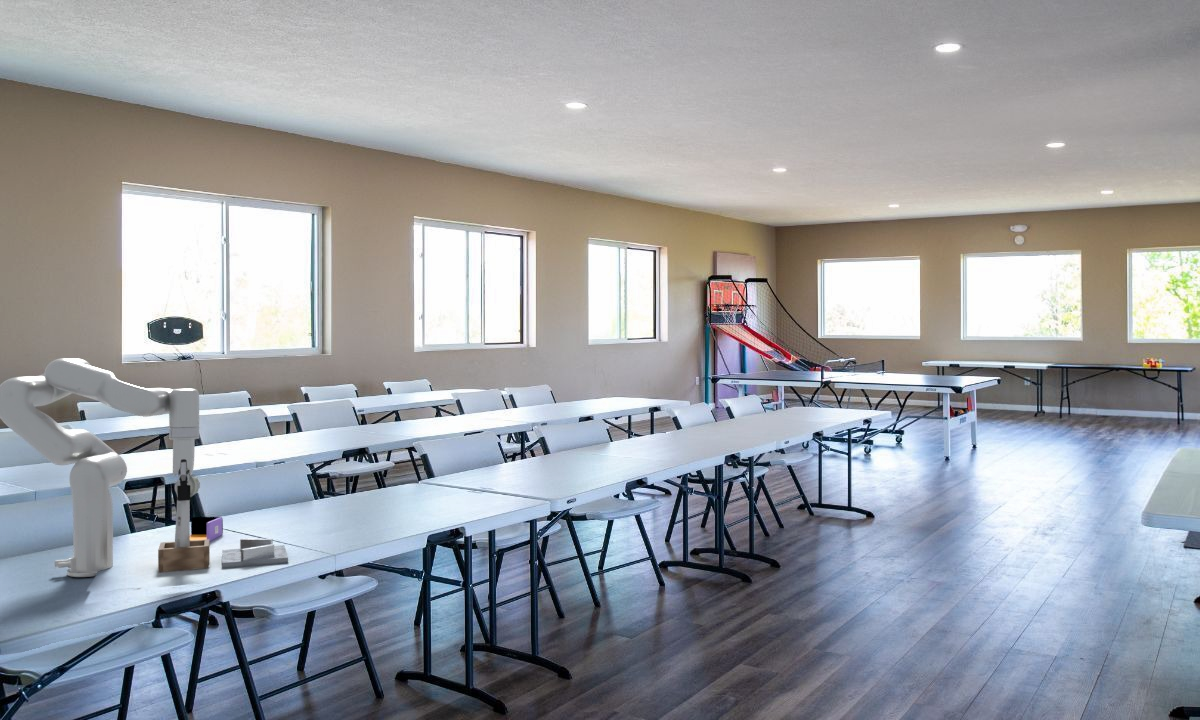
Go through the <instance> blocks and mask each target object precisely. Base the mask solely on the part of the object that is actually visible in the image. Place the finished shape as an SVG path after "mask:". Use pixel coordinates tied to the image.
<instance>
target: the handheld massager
mask: <svg viewBox="0 0 1200 720" xmlns="http://www.w3.org/2000/svg"><path fill="white" fill-rule="evenodd" d="M189 485H190V498H192V497H193V496H194V495H197V494H198V492H199V489H200V488H201V483H200V482H199V479H198V476H196V475H195V474H191V475H190V477H189ZM177 486H178V480H177V481H176V483H175V484H174V491H175V494H177ZM174 532H175V535H174V542H175V548H178V547H190V535H191V533H190V532H191V520H190V500H185V501H178V500H176V515H175V531H174Z"/></svg>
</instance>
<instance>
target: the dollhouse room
mask: <svg viewBox="0 0 1200 720" xmlns="http://www.w3.org/2000/svg"><path fill="white" fill-rule="evenodd" d="M223 519H224V518H223V517H222V516H195V517H194V516H193V517H191V520H190V532H191V533H190V540H204V539H210V542H212V541H213V540H216V539H217V538H219V537H220V535H221V536H222V535H223V534H224V533H223V532H224V531H223V530H224V529H223V528H224V524H223V523H224V520H223Z"/></svg>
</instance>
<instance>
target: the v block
mask: <svg viewBox="0 0 1200 720" xmlns="http://www.w3.org/2000/svg"><path fill="white" fill-rule="evenodd" d="M239 541H240V542H239V548H234V549H233V548H232V549H222V551H221V552H222V553H221V569H230V568H243V567H253V566H254V567H257V566H267V565H268V566H269V565H280V564H289V557H288V553H287V551H286V547H285V545H275V544H273V543H274V542H273V541H274V538H241V539H240V540H239Z"/></svg>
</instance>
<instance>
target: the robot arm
mask: <svg viewBox="0 0 1200 720" xmlns="http://www.w3.org/2000/svg"><path fill="white" fill-rule="evenodd" d="M72 394H73V395H76V396H82V397H85V398H87V399H91V400H95V401H97V402H100V403H101V404H102V405H105V406H108V407H110V408H113V409H115V410H118V411H121V412H124V413H128V414H131V415H134V416H138V417H144V418H146V417H155V416H162V415H168V420H169V421H168V423H169V424H168V425H169V428H168V433H169V434H168V436H169V438H168V439H169V440H171V441H173V444H172V476H173V477H176V475H177V476H178V477H177V478H178V479H177V481H178V486H177V493H176V494H177V495H176V496H177V497H176V499H177V500H178V501H185V500H189V501H190V500H191V497H190V485H189V477H190V475H193V471H194V466H195V447H196V446H195V441H196V440H199V439H200V393H199V390H198V389H196V388H173V389H172V388H165V387H151V388H145V387H140V386H137V385H134V384H130V383H128V382H124V381H122V380H120V379H118V378H117V377H116V375H115V373H114V372H112V371H110V370H106V369H102V368H99V367H96V366H92V365H91V363H89V361H87V360H85V359H82V358H76V357H75V358H74V357H73V358H70V357H69V358H66V357H62V358H61V357H60V358H57V359H54V360H52V361H50V362H49V363H48V364H47V365H46V367H45V369H44V373H41V374H40V375H36V376H35V375H27V376H26V375H25V376H16V377H15V376H14V377H11V378H8V379H6V380H4V381H3V382H2V383H0V421H2V422H3V423H4V425H6V426H7V427H8V428H9V429H11V430H12V431H13V432H14V433H15V434H16V435H18V436H19V437H21V438H22V439H23V440H24V441H25V442H27V444H29V445H30V446H31V447H32V448H33V449H34V450H35V451H37V452H38V453H39V454H41V456H43V457H44V458H45V459H46V460H47V461H49V462H51V463H52V464H54V465H55V466H69V465H73V464H74V465H73V466H72V468H71V469H70V472H69V476H68V477H69V486H70V492H71V499H72V519H73V520H72V527H73V529H72V535H73V536H72V538H73V539H72V545H73V547H72V549H73V551H72V552H73V553H72V557H68V558H67V559H55V560H54V568H60V569H61V568H68V569H66V575H67V576H68V577H73V578H88V577H89V578H90V577H96V576H97V574H98V572H99V571H104V570H107V569H110V568H113V567H114V524H113V523H114V506H113V505H114V504H113V503H114V502H113V497H112V494H111V489H110V488H112V487H114V486H117V485H119V484H120V483H122V482H124V480H125V479H126V477H127V473H128V466H127V463H126V462H125V460H124V458H123V457H122V456H121V455H120V454H119V453H117V452H116V451H115V450H114V449H113V448H111V447H110V446H109V445H107V443H105V442H104V441H103V440H102V439H100V438H99V437H98V436H97V435H95V434H94V433H92V432H91V431H88V430H86V429H82V428H73V429H72V428H71V429H68V428H66V427H63V426H62V425H60V424H59V423H58V422H57V421H55V419H54V418H53V417H52V416H50V415H48V414H46V413H45V412H43V411H42V410H40V409H38V408H37V407H43V406H47V405H50V404H52V403H54V402H56V401H59V400H62V399H63V398H66V397H67V396H70V395H72ZM177 500H176V501H177Z"/></svg>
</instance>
